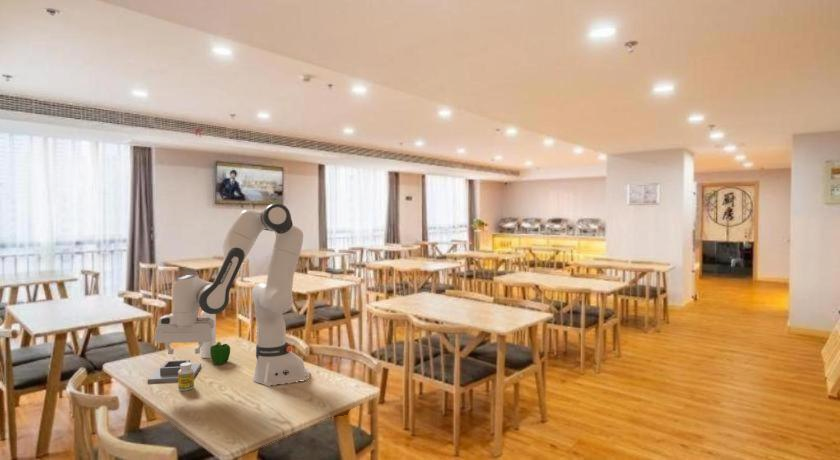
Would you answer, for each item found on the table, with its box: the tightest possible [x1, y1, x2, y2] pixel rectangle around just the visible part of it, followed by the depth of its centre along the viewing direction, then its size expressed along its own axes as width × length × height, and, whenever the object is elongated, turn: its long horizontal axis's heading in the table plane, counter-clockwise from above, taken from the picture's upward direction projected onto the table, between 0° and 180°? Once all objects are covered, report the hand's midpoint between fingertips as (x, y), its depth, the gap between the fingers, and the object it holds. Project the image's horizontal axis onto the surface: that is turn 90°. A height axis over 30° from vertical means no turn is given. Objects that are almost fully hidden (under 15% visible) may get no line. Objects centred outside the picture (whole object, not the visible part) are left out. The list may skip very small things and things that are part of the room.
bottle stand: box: [147, 359, 202, 384], centre depth 194 cm, size 16×16×4 cm
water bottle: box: [199, 310, 217, 359], centre depth 216 cm, size 9×6×25 cm
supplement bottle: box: [177, 361, 195, 392], centre depth 180 cm, size 5×5×10 cm
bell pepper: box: [210, 341, 231, 366], centre depth 208 cm, size 8×8×10 cm
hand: (184, 353), depth 179 cm, fingers open, 8 cm apart
